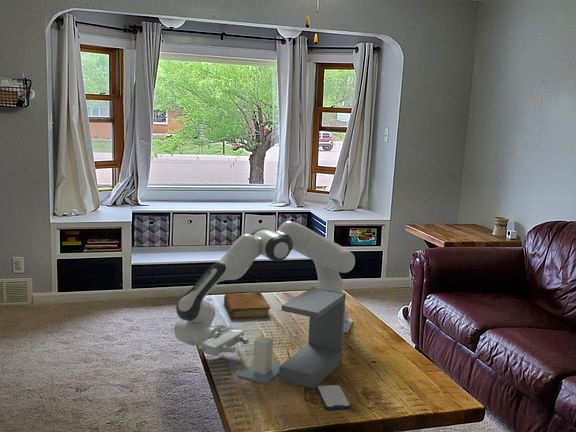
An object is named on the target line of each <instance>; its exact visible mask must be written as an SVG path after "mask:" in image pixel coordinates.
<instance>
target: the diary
mask: <svg viewBox="0 0 576 432" xmlns="http://www.w3.org/2000/svg"><path fill="white" fill-rule="evenodd" d="M223 296H224V298H223V303H224V307H225V308H226V311H227V313H228V315H229V317H230V319H231V320H245V319H246V320H247V319H248V318H249V319H265V318H271V316H270V315H269V314H270V313H269V311H270V310H271V306H270V304H269V303H268V301H267V300H266V298H265V297H264V296H263V294H262V292H241V293H240V292H239V293H236V292H235V293H225V294H224V295H223ZM249 319H248V320H249Z"/></svg>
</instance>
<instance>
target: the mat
mask: <svg viewBox="0 0 576 432" xmlns="http://www.w3.org/2000/svg"><path fill="white" fill-rule="evenodd" d="M280 365H281V364H279V363H275V362H272V370H271V371H269V372H268V373H267V374H261V373H257V372H254V371H253V367H254V362H253V363H251V365H249V366H248V367H246V368H245V369H244V370H242V371H240V372H239V373H238V374H237V375H236V377H238V378H241V379H244V380H245V379H246V380H248V381H252V382H255V383H259V384H263V385H267V384H268V383H270V382H271V381H272V380H273V379H275V378H276V377H277V376H279V366H280Z"/></svg>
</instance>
